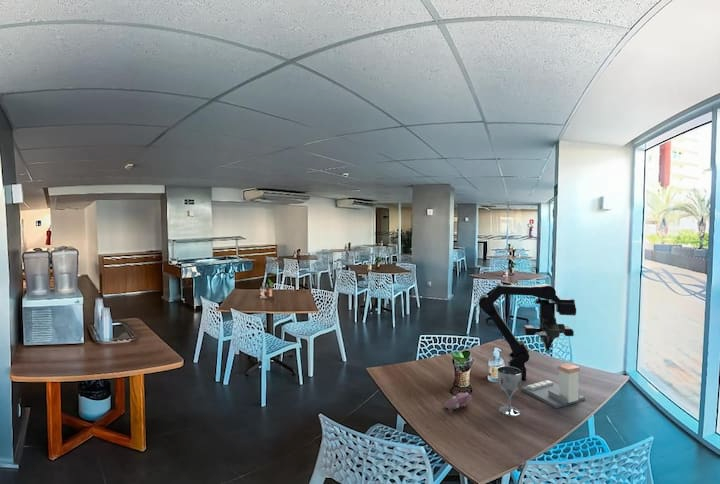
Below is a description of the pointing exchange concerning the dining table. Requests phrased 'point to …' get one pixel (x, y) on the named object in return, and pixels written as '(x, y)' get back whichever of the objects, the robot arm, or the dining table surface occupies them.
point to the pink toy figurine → (458, 400)
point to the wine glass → (509, 386)
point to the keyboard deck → (549, 393)
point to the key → (568, 381)
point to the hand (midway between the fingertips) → (547, 350)
